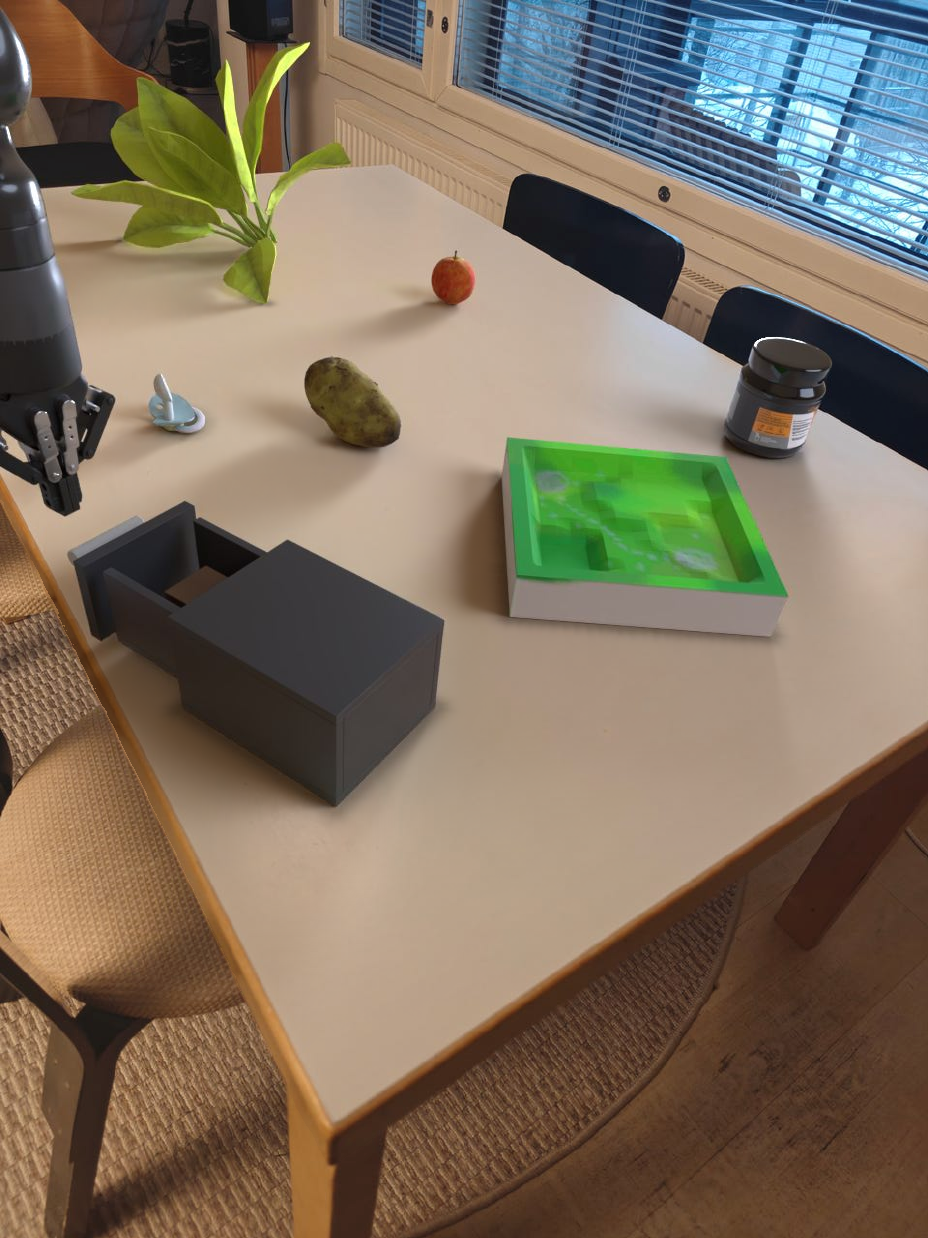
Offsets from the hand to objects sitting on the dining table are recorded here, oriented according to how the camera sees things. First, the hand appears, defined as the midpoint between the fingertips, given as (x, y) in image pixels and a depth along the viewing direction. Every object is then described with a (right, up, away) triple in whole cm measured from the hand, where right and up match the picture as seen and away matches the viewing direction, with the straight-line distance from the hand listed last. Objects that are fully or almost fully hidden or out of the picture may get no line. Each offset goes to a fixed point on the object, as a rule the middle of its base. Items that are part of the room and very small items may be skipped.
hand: (65, 509), depth 75 cm
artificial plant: (-6, +50, +67) cm, 84 cm away
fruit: (+33, +41, +63) cm, 82 cm away
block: (+14, -11, -3) cm, 18 cm away
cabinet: (+23, -17, -6) cm, 29 cm away
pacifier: (+1, +13, +26) cm, 29 cm away
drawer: (+11, -10, -2) cm, 15 cm away
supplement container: (+74, +14, +37) cm, 83 cm away
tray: (+52, -2, +15) cm, 54 cm away
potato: (+21, +13, +28) cm, 37 cm away
